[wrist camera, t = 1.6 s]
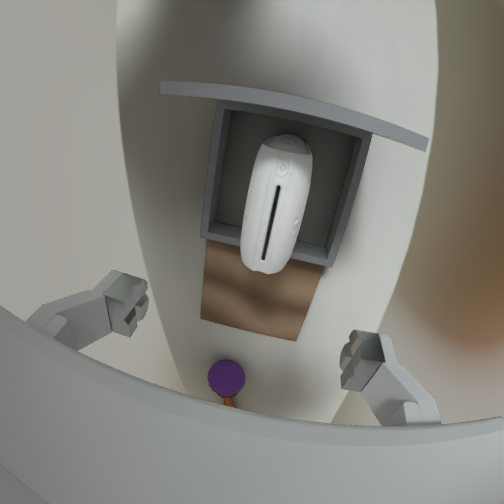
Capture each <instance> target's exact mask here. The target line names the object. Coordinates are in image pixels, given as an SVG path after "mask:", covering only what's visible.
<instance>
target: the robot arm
mask: <svg viewBox="0 0 504 504" xmlns="http://www.w3.org/2000/svg"><path fill="white" fill-rule="evenodd" d="M147 289H148V286H147V282H146V280H144V279H141V278H138V277H135V276H132V275H128V274H126V273H122V272H119V271H116V270H112V271H111V272H110V273H109V274H108V275H107V276H106V277H105V278H104V279H103V280H102V281H101V282H100V283H99V284H98V285H97V286H96V287H95V288H94V289H93V290H92V291H91V290H86V291H83V292H80V293H77V294H74V295H71V296H68V297H65V298H62V299H59V300H55V301H52V302H49V303H46V304H43V305H41V306H40V307H39V308H38V309H37V310H36V311H35V312H34V313H33V314H32V315H31V316H30V317H29V318H28V319H27V321H23V320H21V319H20V318H18V317H17V316H15V315H14V314H12V313H11V312H9V311H8V310H6V309H5V308H3V307H2V306H1V305H0V504H504V417H501V416H499V417H492V418H487V419H481V420H475V421H468V422H460V423H451V424H441V421H440V416H439V413H438V409H437V405H436V401H435V400H434V399H433V398H432V397H431V396H430V395H429V394H428V393H427V392H426V391H425V389H424V388H423V387H422V386H421V385H420V384H419V383H418V382H417V381H416V380H415V379H414V378H413V377H412V376H411V375H410V374H409V373H408V371H407V370H405V368H404V367H403V366H402V365H400V364H397V359H396V356H395V352H394V349H393V345H392V342H391V338H390V336H389V335H388V334H381V333H373V332H366V331H360V330H355V329H354V330H353V331H352V332H351V334H350V336H349V340H350V342H348V343H347V344H345V345H344V347H343V349H342V351H341V355H340V368H341V369H342V370H343V373H342V374H341V389H344V390H352V391H359V392H361V394H362V396H363V397H364V399H365V400H366V402H367V403H368V405H369V407H370V408H371V410H372V411H373V413H374V414H375V416H376V418H377V419H378V421H379V422H380V424H381V426H359V425H343V424H332V423H322V422H313V421H305V420H298V419H291V418H284V417H278V416H273V415H267V414H262V413H257V412H252V411H247V410H243V409H238V408H234V407H230V406H226V405H222V404H218V403H214V402H210V401H207V400H203V399H200V398H196V397H193V396H189V395H186V394H183V393H180V392H177V391H174V390H170V389H168V388H165V387H162V386H159V385H156V384H153V383H150V382H148V381H145V380H142V379H140V378H137V377H135V376H132V375H130V374H127V373H125V372H122V371H120V370H117V369H115V368H113V367H110V366H108V365H106V364H104V363H101V362H99V361H97V360H95V359H93V358H91V357H88V356H86V355H84V354H82V353H80V352H78V350H80V349H82V348H84V347H86V346H87V345H89V344H91V343H93V342H95V341H97V340H99V339H100V338H102V337H104V336H106V335H108V334H109V333H111V332H112V331H113V332H116V333H119V334H121V335H124V336H127V337H131V335H132V334H133V332H134V331H135V329H136V328H137V321H140V320H142V319H143V318H144V316H145V315H146V312H147V309H148V297H147V295H146V294H145V292H146V290H147Z"/></svg>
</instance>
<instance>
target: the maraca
mask: <svg viewBox="0 0 504 504" xmlns="http://www.w3.org/2000/svg"><path fill="white" fill-rule="evenodd" d="M208 382H209V386H210V387H211V389H212V390H213V391H214V392H216V393H217V394H218V395H219V396H221V397H222V398H225V400H224V405H226V406H230V407H234V404H233V401H232V397H234V396H236V395H237V393H238V392H239V391H240V390H241V389H242V387H243V386H244V382H245V375H244V371H243V370H242V369H241V367H240V366H239V365H238V364H237V363H235V362H233V361H228V360H224V361H219V362H217V363H215V364H214V365H213V366H212V367H211V369H210V370H209V373H208ZM234 408H235V407H234Z"/></svg>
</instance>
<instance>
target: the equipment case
mask: <svg viewBox="0 0 504 504" xmlns="http://www.w3.org/2000/svg"><path fill="white" fill-rule="evenodd" d="M159 94H163V95H178V96H189V97H199V98H208V99H216V100H218V102H217V108H216V114H215V120H214V127H213V134H212V140H211V147H210V155H209V162H208V170H207V178H206V186H205V194H204V203H203V212H202V222H201V232H200V237H201V238H206V239H210V240H214V241H219V242H223V243H227V244H232V245H236V246H240V242H241V232H242V228H241V227H237V226H232V225H228V224H223V223H219V222H215V220H216V212H217V204H218V197H219V190H220V182H221V175H222V169H223V162H224V155H225V149H226V142H227V136H228V130H229V124H230V118H231V112H232V110H237V111H244V112H250V113H256V114H262V115H267V116H273V117H278V118H283V119H288V120H292V121H297V122H301V123H306V124H310V125H314V126H318V127H322V128H326V129H330V130H333V131H337V132H341V133H344V134H348V135H351V136H354V137H356V140H355V144H354V148H353V152H352V156H351V160H350V164H349V168H348V171H347V175H346V179H345V182H344V186H343V190H342V193H341V197H340V200H339V204H338V207H337V210H336V214H335V217H334V220H333V224H332V227H331V230H330V233H329V236H328V240H327V243H326V246H325V247H324V246H319V245H315V244H311V243H307V242H303V241H298V240H296V243H295V245H294V248H293V251H292V254H291V256H290V258H293V259H297V260H301V261H306V262H310V263H314V264H319V265H323V266H327V267H332V266H333V263H334V260H335V257H336V255H337V252H338V249H339V246H340V243H341V240H342V237H343V234H344V231H345V228H346V225H347V222H348V219H349V216H350V212H351V209H352V206H353V203H354V200H355V196H356V193H357V189H358V186H359V183H360V179H361V176H362V172H363V168H364V165H365V161H366V157H367V154H368V150H369V146H370V142H371V138H372V134H375V135H379V136H382V137H385V138H388V139H391V140H394V141H397V142H400V143H402V144H405V145H408V146H411V147H413V148H416V149H419V150H421V151H424V152H426V148H427V144H428V140H429V138H427V137H424V136H422V135H420V134H417V133H415V132H412V131H410V130H407V129H405V128H402V127H400V126H397V125H394V124H392V123H389V122H386V121H383V120H381V119H378V118H375V117H372V116H369V115H366V114H363V113H359V112H356V111H353V110H350V109H346V108H343V107H339V106H335V105H332V104H328V103H324V102H320V101H316V100H312V99H308V98H303V97H299V96H294V95H289V94H284V93H279V92H273V91H268V90H262V89H255V88H248V87H241V86H233V85H224V84H214V83H202V82H187V81H161V82H160V88H159Z"/></svg>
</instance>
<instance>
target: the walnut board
mask: <svg viewBox="0 0 504 504" xmlns="http://www.w3.org/2000/svg"><path fill="white" fill-rule="evenodd" d="M323 268H324V266H323V265H319V264H314V263H310V262H306V261H301V260H297V259H293V258H290V259H289V260H288V262H287V263H286V265H285V266H284V268H283V269H282V270H281V271H279V272H277V273H274V274H265V273H263V272H260V271H253V270H251V269H249V268H248V267H247V266H245V264H244V263H243V261H242V258H241V250H240V246H236V245H232V244H227V243H223V242H219V241H214V240H210V239H208V242H207V251H206V261H205V272H204V282H203V293H202V305H201V318H200V319H204V320H208V321H211V322H215V323H219V324H223V325H227V326H231V327H235V328H239V329H243V330H247V331H252V332H256V333H260V334H265V335H269V336H274V337H278V338H283V339H288V340H293V341H296V340H297V337H298V335H299V332H300V330H301V327H302V325H303V322H304V320H305V317H306V315H307V312H308V309H309V307H310V304H311V302H312V299H313V296H314V293H315V291H316V288H317V285H318V282H319V280H320V277H321V274H322V271H323Z"/></svg>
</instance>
